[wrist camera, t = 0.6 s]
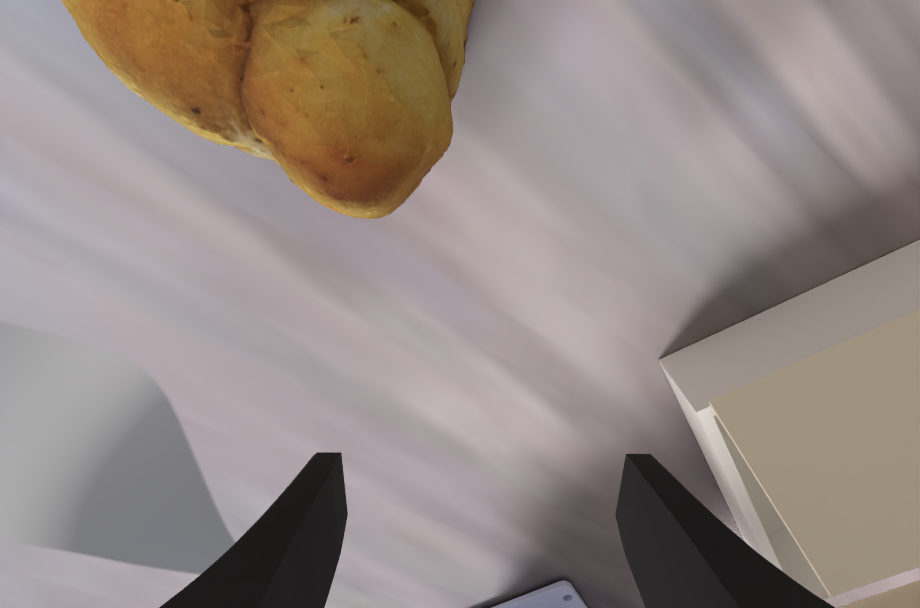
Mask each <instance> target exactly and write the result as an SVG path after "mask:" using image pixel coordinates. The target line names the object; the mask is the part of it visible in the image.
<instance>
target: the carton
mask: <svg viewBox="0 0 920 608" xmlns="http://www.w3.org/2000/svg"><path fill="white" fill-rule="evenodd" d="M919 309H920V240H918V241H915V242H913V243H911V244H909V245H907V246H905V247H902V248H900V249H898V250H896V251H894V252H891V253H889V254H887V255H885V256H883V257H881V258H878V259H876V260H874V261H872V262H870V263H868V264H865V265H863V266H861V267H859V268H857V269H855V270H852V271H850V272H848V273H846V274H844V275H842V276H839V277H837V278H835V279H833V280H831V281H829V282H826V283H824V284H822V285H820V286H818V287H816V288H813V289H811V290H809V291H807V292H805V293H802V294H800V295H798V296H796V297H794V298H792V299H789V300H787V301H785V302H783V303H781V304H779V305H776V306H774V307H772V308H770V309H768V310H766V311H763V312H761V313H759V314H757V315H755V316H753V317H750V318H748V319H746V320H744V321H742V322H740V323H737V324H735V325H733V326H731V327H729V328H727V329H724V330H722V331H720V332H718V333H716V334H714V335H711V336H709V337H707V338H705V339H703V340H700V341H698V342H696V343H694V344H692V345H690V346H687V347H685V348H683V349H681V350H679V351H677V352H674V353H672V354H670V355H668V356H666V357H664V358H661V359H659V362H660V364H661V366H662V368H663V370H664V373H665V375H666V377H667V379H668V381H669V383H670V385H671V387H672V389H673V391H674V393H675V396H676V398H677V400H678V402H679V404H680V406H681V408H682V410H683V412H684V414H685V417H686V419H687V421H688V423H689V425H690V427H691V429H692V431H693V433H694V435H695V438H696V440H697V442H698V444H699V446H700V448H701V450H702V452H703V454H704V456H705V459H706V461H707V463H708V465H709V467H710V469H711V471H712V473H713V475H714V477H715V480H716V482H717V484H718V486H719V488H720V490H721V492H722V494H723V496H724V498H725V501H726V503H727V505H728V507H729V509H730V511H731V513H732V515H733V517H734V519H735V522H736V524H737V526H738V528H739V530H740V532H741V534H742V536H743V538H744V540H745V542H746V543H747V544H748V545H749V546H750V547H751V548H753V549H754V550H755V551H756V552H758V553H759V554H760V555H761V556H763V557H764V558H765V559H767V560H768V561H769V562H770V563H772V564H773V565H775V566H776V567H777V568H779V569H780V570H781V571H783V572H784V573H785V574H787V575H788V576H789V577H791V578H792V579H793V580H795V581H796V582H798V583H799V584H800V585H802V586H803V587H805V588H806V589H808V590H809V591H810V592H812V593H813V594H815V595H816V596H818V597H819V598H821V599H822V600H823V599H826V598H829V597H831V596H829V595H828V593H827V591H826V590H825V588H824V587H823V585H822V583H821V582H820V580H819V579H818V577H817V575H816V574H815V572H814V571H813V569H812V567H811V566H810V564H809V563H808V561H807V559H806V558H805V556H804V555H803V553H802V551H801V550H800V548H799V547H798V545H797V543H796V542H795V540H794V539H793V537H792V536H791V534H790V532H789V531H788V529H787V528H786V526H785V524H784V523H783V521H782V520H781V518H780V516H779V515H778V513H777V512H776V510H775V508H774V507H773V505H772V504H771V502H770V500H769V499H768V497H767V496H766V494H765V492H764V491H763V489H762V488H761V486H760V484H759V483H758V481H757V480H756V478H755V476H754V475H753V473H752V472H751V470H750V468H749V467H748V465H747V464H746V462H745V460H744V459H743V457H742V456H741V454H740V452H739V451H738V449H737V448H736V446H735V444H734V443H733V441H732V440H731V438H730V436H729V435H728V433H727V432H726V430H725V428H724V427H723V425H722V424H721V422H720V420H719V419H718V417H717V416H716V414H715V412H714V411H713V409H712V408H711V406H710V404H709V401H710V400H712V399H715V398H717V397H719V396H722V395H724V394H726V393H728V392H731V391H733V390H735V389H738V388H740V387H742V386H744V385H747V384H749V383H751V382H754V381H756V380H758V379H761V378H763V377H765V376H767V375H770V374H772V373H774V372H777V371H779V370H781V369H784V368H786V367H788V366H790V365H793V364H795V363H797V362H800V361H802V360H804V359H807V358H809V357H811V356H813V355H816V354H818V353H820V352H823V351H825V350H827V349H830V348H832V347H834V346H836V345H839V344H841V343H843V342H846V341H848V340H850V339H853V338H855V337H857V336H859V335H862V334H864V333H866V332H869V331H871V330H873V329H876V328H878V327H880V326H882V325H885V324H887V323H889V322H892V321H894V320H896V319H899V318H901V317H903V316H905V315H908V314H910V313H912V312H915V311H917V310H919Z"/></svg>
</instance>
